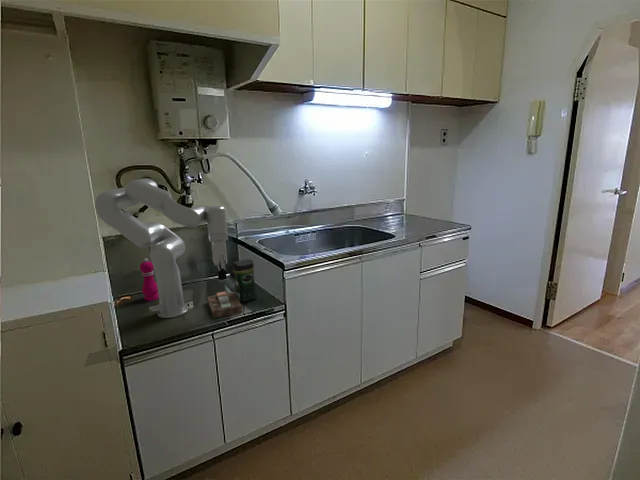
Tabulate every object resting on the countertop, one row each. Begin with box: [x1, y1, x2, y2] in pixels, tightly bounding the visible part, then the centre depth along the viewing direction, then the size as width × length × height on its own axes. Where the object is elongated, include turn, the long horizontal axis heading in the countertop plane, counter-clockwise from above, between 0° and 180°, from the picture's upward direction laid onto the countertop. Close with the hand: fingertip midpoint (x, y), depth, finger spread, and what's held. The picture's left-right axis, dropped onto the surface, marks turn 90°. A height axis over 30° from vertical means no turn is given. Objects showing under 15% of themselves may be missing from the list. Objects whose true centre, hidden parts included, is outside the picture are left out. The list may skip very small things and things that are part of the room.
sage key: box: [220, 303, 231, 309], centre depth 159 cm, size 4×4×3 cm
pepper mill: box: [139, 257, 159, 302], centre depth 176 cm, size 7×7×20 cm
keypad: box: [207, 291, 243, 319], centre depth 164 cm, size 12×18×3 cm, turn 23°
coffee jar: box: [232, 258, 258, 303], centre depth 171 cm, size 10×8×19 cm
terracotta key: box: [216, 290, 227, 299], centre depth 168 cm, size 4×4×3 cm
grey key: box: [218, 296, 229, 304], centre depth 163 cm, size 4×4×3 cm
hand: (222, 278), depth 156 cm, fingers closed
